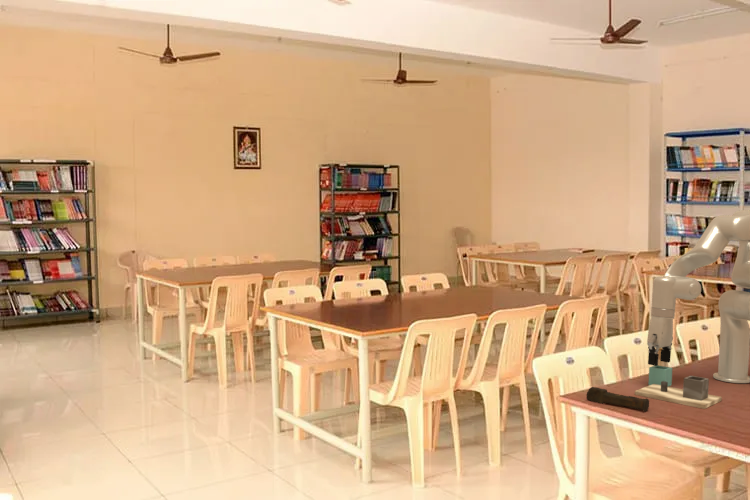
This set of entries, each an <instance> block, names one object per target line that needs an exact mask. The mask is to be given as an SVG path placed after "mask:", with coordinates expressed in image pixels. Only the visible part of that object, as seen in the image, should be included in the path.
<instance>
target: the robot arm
mask: <svg viewBox="0 0 750 500" xmlns="http://www.w3.org/2000/svg"><path fill="white" fill-rule="evenodd" d="M731 241H737V242H738V251H737V254H736V259H735V261H734V265H733V268H732V272H731V278H730V279H731V282H732V284H733V285H734V286H737V287H739V288H744V289H750V209H743V210H737V211H735V212H734V213H732V215H730V214H729V215H727V214H726V215H725V214H724V215H716V216H715V217H714V218H713V219H712V220H711V221H710V222H709V224H708V226H707V227H706V229H705V230H704V232H703V233H702V235H701V236H700V238H699V240H698V241H697V242H696V243H695V246H694V247H693V248H691V249H690V250H688V251H687V252H685V253H684V254H683V255H681V256H680V257H678V258H677V259H676V260H674V261H673V262H672V263H671V264H670V266H669V267H668V269H667V270H666V272H665V273H664V274H663V276H656V277H654V279H653V282H652V295H651V296H652V297H651V307H650V321H649V325H648V331H647V332H648V333H647V341H646V345H647V346H648V347H647V348H648V350H647V351H648V357H647V358H648V360H647V365H649V366H657V365H659V359H660V362H663V363H670V362H671V356H672V355H671V354H672V349H673V348H672V346H673V341H674V340H673V339H674V336H673V335H674V319H675V316H676V315H675V313H676V301H677V299H681V300H686V301H689V300H690V301H691V300H694V299H696V298H699V296H700V295H701V292H702V285H701V283H700V282H699V281H698V280H697V279H695V278H694V277H693V278H692V277H687V276H688V275H689V274H690V273H691V272H693V271H695V270H698V269H700V268H702V267H707V266H709V265H711V264H714V263H716V262H717V261H718V259H719V257H721V255H722V253H723V252H724V250H725V248H726V247H727V246H728V244H729V243H730V242H731ZM718 312H719V318H720V330H719V346H718V347H719V349H718V368H717V372H714V373H713V374H712V377H713V379H715V380H717V381H721V382H727V383H733V384H749V383H750V375H748V374H749V362H750V361H749V360H750V359H749V358H750V323H749V321H750V292H749V291H744V290H737V289H729V290H727V291H725V292H723V293H721V295H720V296H719V299H718ZM660 348H661V350H660ZM659 351H660V358H659Z"/></svg>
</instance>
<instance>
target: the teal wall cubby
mask: <svg viewBox="0 0 750 500" xmlns="http://www.w3.org/2000/svg"><path fill="white" fill-rule="evenodd" d="M661 381H666V382H668V387H672V385H673V384H672V382H673V367H670V366H663V365H659V364H658V365H657V366H654V365H651V366H649V368H648V386H649V385H652V384H657V385H661Z"/></svg>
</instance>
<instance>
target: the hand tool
mask: <svg viewBox="0 0 750 500" xmlns="http://www.w3.org/2000/svg"><path fill="white" fill-rule="evenodd" d="M586 400H588V401H590V402H593V403H597V402H598V404H601V403H602V405H603V403H604V404H610V405H615V406H620V407H621V406H622V407H625V408H630V409H634V410H640V411H643V413H646V412H648V410H649V409H650V400H649V398H648V397H645V398H642V397H641V398H639V397H637V396H631V395H625V394H619V393H614V392H610V391H609V392H608V389H607V388H606V389H605V388H600V387H595V386H592V387H590V388H588V389H587V392H586Z"/></svg>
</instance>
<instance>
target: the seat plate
mask: <svg viewBox="0 0 750 500" xmlns="http://www.w3.org/2000/svg"><path fill="white" fill-rule="evenodd" d="M682 384H683V387H682V388H677V387H672V386H668V382H666V381H661V385H657V384H652V385H648V386H644V387H642V388H640V389H637V390H634V395H636V396H640V397H645V398H648V399H649V398H650V399H654V400H659V401H665V402H669V403H673V404H674V403H675V404H677V405H679V404H680V405H684V406H688V407H693V408H698V409H703V410H705V409H708V408H710V407H712V406H714V405H716V404H717V403H720V402H722V400H723V399H722V398H723V397H722V396H720V395H719V396H718V395H714V394H709V388H710V387H709V386H710V385H709V384H710V378H707V377H702V376H701V377H700V376H696V375H689V376H686V377H683V383H682Z"/></svg>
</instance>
